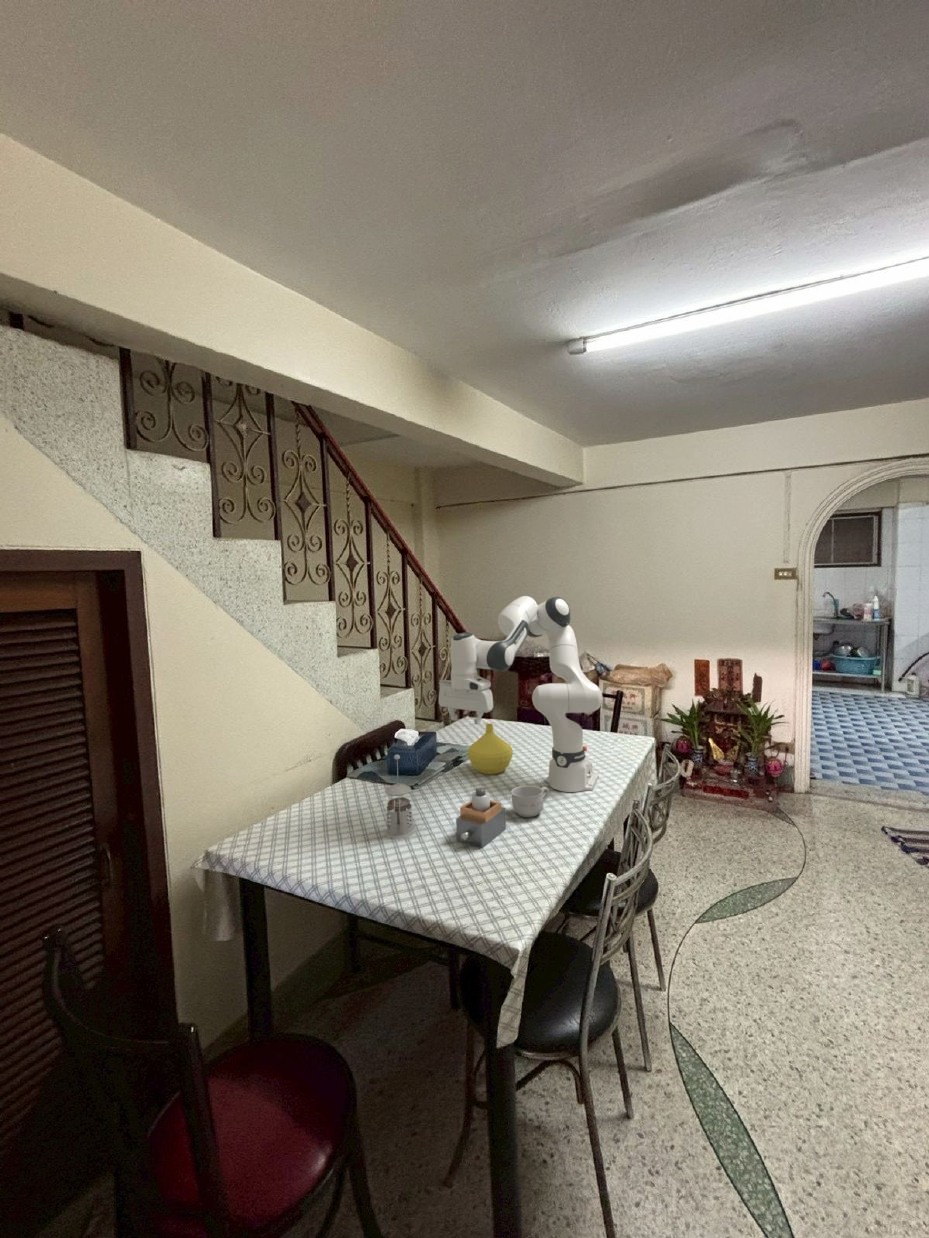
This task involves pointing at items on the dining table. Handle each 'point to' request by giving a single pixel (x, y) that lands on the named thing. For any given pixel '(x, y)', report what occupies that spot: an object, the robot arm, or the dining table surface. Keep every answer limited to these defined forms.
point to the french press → (399, 811)
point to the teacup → (528, 800)
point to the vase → (490, 753)
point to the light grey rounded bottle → (481, 800)
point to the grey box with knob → (480, 824)
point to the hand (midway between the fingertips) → (465, 722)
